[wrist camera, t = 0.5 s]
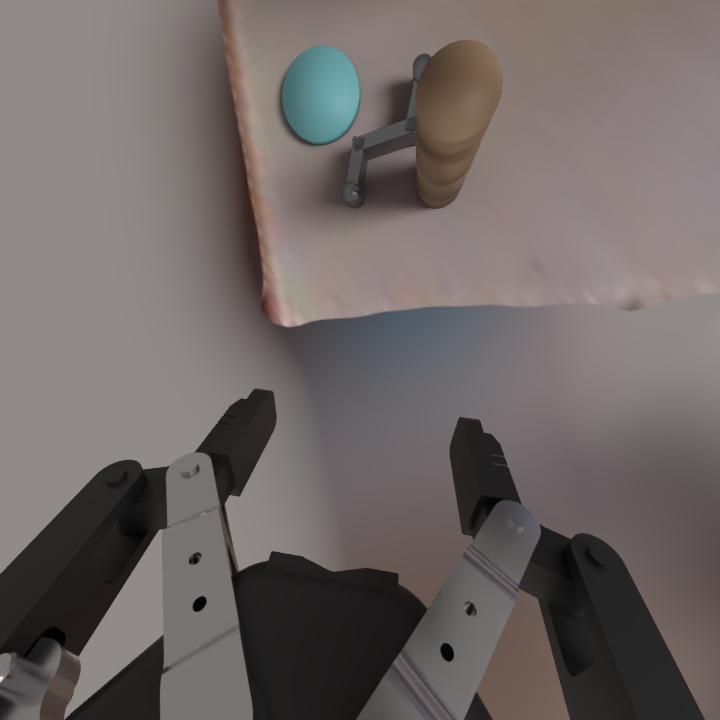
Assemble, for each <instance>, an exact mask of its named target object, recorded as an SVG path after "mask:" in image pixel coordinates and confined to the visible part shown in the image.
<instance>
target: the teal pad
mask: <svg viewBox="0 0 720 720" xmlns="http://www.w3.org/2000/svg"><path fill="white" fill-rule="evenodd" d="M282 104H283V109H284V113H285V116H286V119H287V121H288V123H289V124H290V126H291V127H292V129H293V130H294V131H295V132H296V134H297V135H298V136H299V137H301V138H302V139H303V140H305V141H306V142H309V143H311V144H315V145H325V144H330V143H332V142H335V141H336V140H338V139H340V138H341V137H342V136H343V135H344V134H345V133H346V132H347V131H348V130H349V129H350V127H351V126H352V124H353V123H354V120H355V118H356V116H357V113H358V109H359V105H360V86H359V81H358V78H357V75H356V72H355V69H354V67H353V65H352V63H351V62H350V60H349V59H348V58H347V57H346V55H345V54H343V53H342V52H341V51H339V50H338V49H336V48H333V47H330V46H316V47H312V48H310V49H308V50H306V51H304V52H303V53H301V54H300V55H299V56H298V57H297V58H296V59H295V60H294V62H293V63H292V64H291V66H290V68H289V70H288V72H287V74H286V77H285V80H284V83H283V89H282Z"/></svg>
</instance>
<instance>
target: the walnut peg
mask: <svg viewBox="0 0 720 720" xmlns="http://www.w3.org/2000/svg"><path fill="white" fill-rule="evenodd" d="M501 92H502V71H501V67H500V64H499V62H498V59H497V58H496V56H495V54H494V53H493V52H492V51H491V50H490V49H489V48H488V47H487V46H485V45H483V44H482V43H479V42H477V41H472V40H462V41H457V42H453V43H451V44H449V45H447V46H445V47H443V48H442V49H440V50H439V51H438V52H437V53H436V54H435V55H434V56H433V57H432V58H431V59H430V60H429V61H428V63H427V64H426V66H425V67H424V69H423V71H422V73H421V75H420V78H419V81H418V84H417V89H416V174H417V194H418V197H419V199H420V200H421V202H422V203H423V204H425V205H426V206H428V207H430V208H443V207H445V206H447V205H449V204H450V203H451V202H452V201H453V200H454V199H455V198H456V197H457V195H458V193H459V191H460V189H461V186H462V184H463V182H464V179H465V177H466V175H467V173H468V170H469V168H470V166H471V164H472V161H473V159H474V157H475V155H476V152H477V150H478V148H479V146H480V143H481V141H482V139H483V137H484V134H485V132H486V130H487V128H488V125H489V123H490V121H491V119H492V116H493V114H494V112H495V110H496V107H497V105H498V102H499V100H500V96H501Z"/></svg>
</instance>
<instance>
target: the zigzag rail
mask: <svg viewBox="0 0 720 720" xmlns="http://www.w3.org/2000/svg"><path fill="white" fill-rule="evenodd" d="M430 59H431V56H430V55H428V54H421V55H419V56H418V57H417V58H416V59H415V61H414V63H413V88H412V94H411V99H410V104H409V109H408V114H407V119H405V120H403V121H400V122H397V123H394V124H392V125H389V126H386V127H384V128H381V129H378V130H375V131H373V132H370V133H367V134H364V135H362V136H359V137H356V136H354V137H353V139H352V141H353V143H352V150H351V156H350V163H349V169H348V176H347V182H346V183H344V185H343V186H342V189H341V193H342V196H343V198H344V199H345V200H346V201H347V202H348V203H349V205H350V206H351V207H353V208H359V207H360V206H361V205H362V204H363V201H364V197H363V194H362V192H363V186H364V180H365V174H366V168H367V162H368V160H370V159H373V158H376V157H379V156H382V155H385V154H388V153H391V152H393V151H396V150H399V149H402V148H405V147H408V146H411V145H416V89H417V84H418V81H419V78H420V75H421V73H422V71H423V69H424V67H425V66H426V64H427V63H428V61H429V60H430Z"/></svg>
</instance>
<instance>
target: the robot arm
mask: <svg viewBox="0 0 720 720" xmlns="http://www.w3.org/2000/svg"><path fill="white" fill-rule="evenodd" d="M276 418H277V417H276V408H275V400H274V393H273V391H270V390H262V389H254V390H253V391H252V392H251V394H250V395H249V397H248V398H247V399H240V400H238V401H237V402H235V403H234V404H233V405H231V406H230V407H229V408H228V410H227V411H226V412H225V414H224V416H222V417H221V419H220V420H219V421H218V424H216V425H215V427H214V428H213V429H212V431H211V432H210V433H209V434H208V436H207V437H206V438H205V440H204V441H203V442H202V444H201V445H200V446H199V448H198V449H197V450H196V451H195V452H194V453H190V454H187V455H184V456H182V457H180V458H179V459H177V460H176V461H174V462H173V464H171V466H168V467H161V468H152V469H144V470H143V468H142V466H141V465H140V463H139V462H137V461H135V460H123V461H119V462H116V463H113V464H111V465H109V466H107V467H105V468H104V469H102V470H101V471H100V472H98V474H96V475H95V476H94V477H93V479H91V480H90V482H89V483H88V484H87V485H86V486H85V487H84V488H83V489H82V490H81V491H80V492H79V493H78V494H77V495H76V496H75V497H74V498H73V499H72V500H71V501H70V502H69V504H67V505H66V506H65V507H64V509H63V510H62V511H61V512H60V513H59V514H58V515H57V516H56V517H55V518H54V519H53V520H52V521H51V522H50V523H49V524H48V525H47V526H46V527H45V528H44V530H42V531H41V532H40V533H39V535H38V536H37V537H36V538H35V539H34V540H33V541H32V542H31V543H30V544H29V545H28V546H27V547H26V548H25V549H24V550H23V551H22V552H21V553H20V554H19V555H18V556H17V557H16V558H15V559H14V560H13V561H12V562H11V564H10V565H9V566H8V567H7V568H6V569H5V570H4V571H3V572H2V573H1V574H0V720H64V714H65V710H66V707H67V705H68V704H69V702H70V701H71V699H72V696H73V694H74V689H75V687H76V685H77V682H78V680H79V676H80V671H81V663H80V660H79V658H78V656H79V655H80V653H81V652H82V650H83V648H84V647H85V645H86V644H87V642H88V641H89V639H90V637H91V636H92V634H93V633H94V631H95V630H96V628H97V626H98V625H99V623H100V622H101V620H102V618H103V617H104V615H105V614H106V612H107V611H108V609H109V608H110V606H111V604H112V603H113V601H114V600H115V598H116V596H117V595H118V593H119V592H120V590H121V589H122V587H123V585H124V584H125V582H126V581H127V579H128V578H129V576H130V575H131V573H132V571H133V570H134V568H135V567H136V565H137V563H138V562H139V560H140V559H141V557H142V555H143V554H144V552H145V551H146V549H147V548H148V546H149V545H150V543H151V541H152V540H153V538H154V537H155V535H156V534H157V532H158V530H160V529H163V533H162V561H163V563H162V564H163V623H164V624H163V625H164V635H163V636H161V637H160V638H159V639H158V640H157V641H155V642H154V643H153V644H152V645H151V646H150V647H148V648H147V649H146V650H145V651H144V652H143V653H141V654H140V655H139V656H138V657H137V658H135V659H134V660H133V661H132V662H131V663H130V664H128V665H127V666H126V667H125V668H124V669H123V670H121V671H120V672H119V673H118V674H117V675H116V676H114V677H113V678H112V679H111V680H110V681H108V682H107V683H106V684H105V685H104V686H103V687H101V688H100V689H99V690H98V691H97V692H96V693H94V694H93V695H92V696H91V697H90V698H88V699H87V700H86V701H85V702H84V703H83V704H81V705H80V706H79V707H78V708H77V709H76V710H74V711H73V712H72V713H71V714H70V715H69V716H68V717H67V718H66V719H65V720H493V719H492V717H491V715H490V714H489V712H488V710H487V709H486V707H485V705H484V703H483V702H482V700H481V698H480V696H479V695H478V693H477V691H476V690H477V688H478V686H479V684H480V681H481V679H482V677H483V674H484V672H485V670H486V667H487V665H488V663H489V660H490V658H491V656H492V654H493V651H494V649H495V647H496V644H497V642H498V640H499V638H500V635H501V633H502V631H503V628H504V626H505V624H506V621H507V619H508V617H509V614H510V612H511V610H512V607H513V605H514V603H515V601H516V598H517V595H518V590H517V588H519V589H521V590H523V591H525V592H527V593H529V594H530V595H532V596H534V597H536V598H538V601H539V604H540V608H541V612H542V616H543V620H544V623H545V627H546V631H547V635H548V638H549V642H550V646H551V650H552V653H553V657H554V660H555V665H556V668H557V672H558V676H559V680H560V683H561V687H562V691H563V695H564V698H565V702H566V706H567V710H568V713H569V717H570V720H705V719H704V717H703V715H702V713H701V711H700V709H699V707H698V705H697V703H696V701H695V699H694V698H693V696H692V694H691V692H690V690H689V688H688V686H687V684H686V682H685V680H684V678H683V676H682V674H681V672H680V670H679V668H678V666H677V665H676V663H675V661H674V659H673V657H672V655H671V653H670V651H669V649H668V647H667V645H666V643H665V641H664V640H663V637H662V635H661V634H660V632H659V630H658V628H657V626H656V624H655V622H654V620H653V618H652V616H651V614H650V612H649V610H648V608H647V606H646V604H645V603H644V601H643V599H642V597H641V595H640V593H639V591H638V589H637V587H636V585H635V583H634V581H633V580H632V577H631V576H630V574H629V572H628V570H627V568H626V566H625V564H624V562H623V560H622V559H621V557H620V556H619V555H618V554H617V553H616V551H615V550H614V549H613V548H612V547H610V546H609V545H608V544H607V543H605V542H604V541H602V540H601V539H599V538H597V537H595V536H593V535H589V534H584V533H580V534H577V535H575V536H574V537H573V538H572V539H569V538H567V537H565V536H563V535H560V534H558V533H556V532H554V531H552V530H549V529H547V528H545V527H543V526H542V525H540V524H539V523H538V521H537V519H536V518H535V516H534V515H533V514H532V513H531V512H530V511H529V510H528V509H527V508H526V507H524V506H523V505H522V504H521V501H520V499H519V496H518V493H517V490H516V487H515V484H514V482H513V479H512V476H511V473H510V470H509V468H508V467H507V462H506V460H505V458H504V454H503V451H502V448H501V445H500V444H499V442H498V441H497V440H496V439H495V438H494V436H492V435H491V434H487V433H484V432H483V429H482V425H481V422H480V420H478V419H471V418H464V417H460V418H459V419H458V422H457V425H456V428H455V431H454V434H453V437H452V440H451V444H450V461H451V467H452V473H453V479H454V486H455V492H456V498H457V505H458V511H459V517H460V523H461V529H462V534H464V535H469V536H472V537H473V541H472V543H471V545H470V546H469V547H468V548H467V549H466V551H465V552H464V554H463V555H462V557H461V558H460V560H459V561H458V563H457V565H456V566H455V568H454V569H453V571H452V572H451V574H450V575H449V577H448V579H447V580H446V582H445V583H444V585H443V586H442V588H441V589H440V591H439V593H438V594H437V596H436V597H435V599H434V601H433V602H432V604H431V605H430V607H429V608H428V609H427V608H426V606H425V605H424V604H423V603H422V602H421V601H420V600H419V599H418V597H416V596H415V595H414V594H413V593H412V592H411V591H409V590H408V589H406V588H405V587H403V586H401V585H399V584H398V574H397V573H392V572H387V571H380V570H375V569H370V568H362V569H354V570H346V571H337V572H333V571H329V570H327V569H325V568H323V567H321V566H319V565H318V564H316V563H314V562H312V561H310V560H307V559H306V558H304V557H302V556H296V555H291V554H285V553H280V552H274V551H272V552H271V555H270V557H269V560H268V561H265V562H260V563H257V564H254V565H251V566H249V567H247V568H245V569H243V570H241V571H239V568H238V564H237V560H236V556H235V552H234V547H233V542H232V537H231V532H230V528H229V522H228V517H227V512H226V507H225V502H226V501H227V499H228V497H229V495H233V496H240V495H241V493H242V491H243V489H244V487H245V485H246V483H247V481H248V479H249V477H250V475H251V473H252V472H253V470H254V468H255V466H256V464H257V462H258V460H259V458H260V456H261V454H262V452H263V450H264V448H265V447H266V445H267V443H268V441H269V439H270V437H271V435H272V433H273V431H274V429H275V425H276Z"/></svg>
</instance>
